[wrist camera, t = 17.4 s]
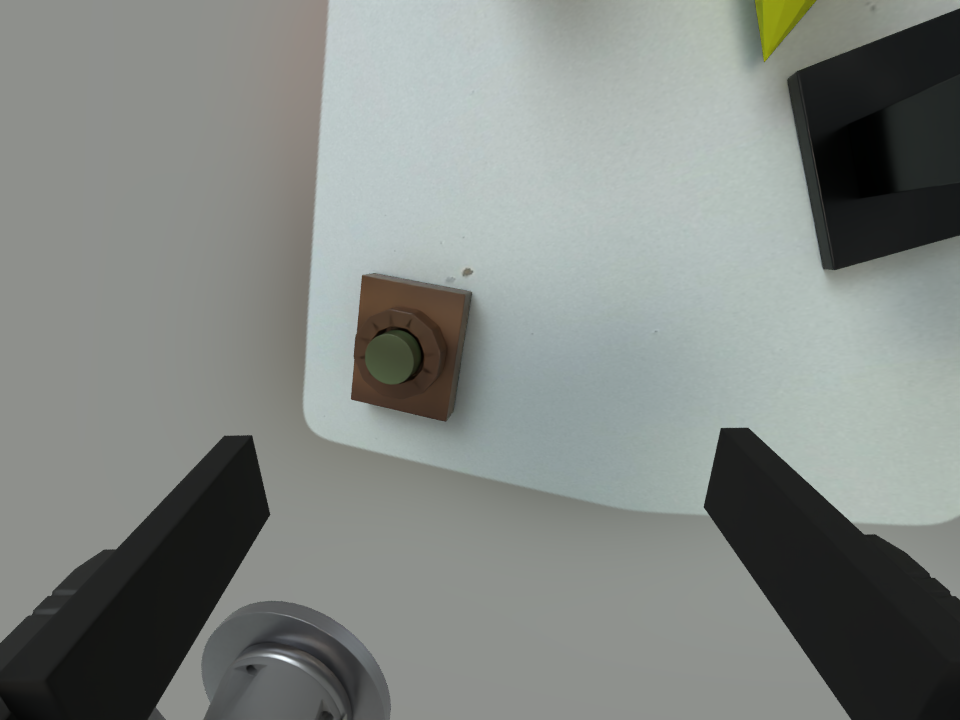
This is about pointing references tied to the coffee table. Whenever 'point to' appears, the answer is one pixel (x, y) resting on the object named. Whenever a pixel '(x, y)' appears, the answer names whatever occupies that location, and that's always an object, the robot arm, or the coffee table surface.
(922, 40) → the bracket
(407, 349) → the button
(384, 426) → the coffee table surface
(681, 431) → the coffee table surface
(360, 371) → the button block
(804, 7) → the plumb bob
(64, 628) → the robot arm
